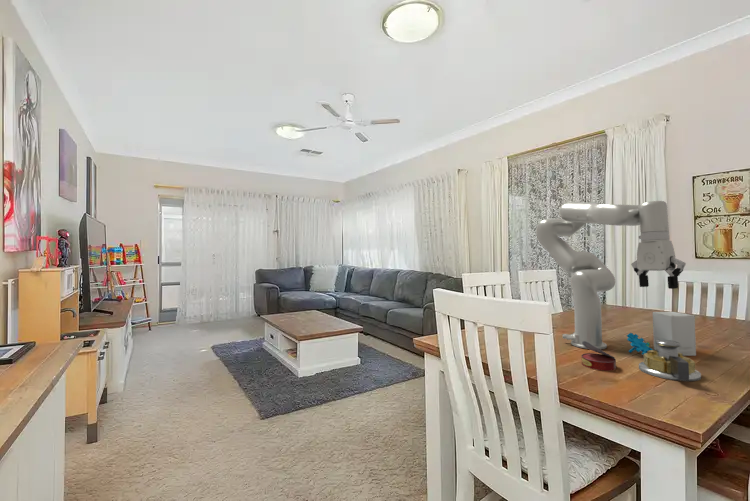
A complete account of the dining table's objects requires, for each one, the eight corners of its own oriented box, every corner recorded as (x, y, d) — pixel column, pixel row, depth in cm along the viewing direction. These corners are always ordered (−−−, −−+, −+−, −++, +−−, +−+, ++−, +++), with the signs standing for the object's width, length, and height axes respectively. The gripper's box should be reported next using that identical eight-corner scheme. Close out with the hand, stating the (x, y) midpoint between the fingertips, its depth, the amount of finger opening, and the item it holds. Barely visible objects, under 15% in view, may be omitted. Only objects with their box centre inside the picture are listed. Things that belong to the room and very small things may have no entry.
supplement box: (697, 356, 124) (696, 315, 124) (672, 356, 124) (671, 315, 124) (675, 349, 133) (674, 311, 133) (652, 349, 133) (651, 311, 133)
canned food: (583, 374, 120) (579, 346, 125) (617, 376, 115) (612, 347, 120) (581, 368, 112) (577, 338, 116) (618, 369, 107) (612, 338, 111)
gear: (644, 355, 121) (624, 331, 128) (630, 363, 124) (612, 340, 131) (662, 355, 125) (642, 332, 132) (648, 363, 129) (630, 340, 136)
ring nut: (640, 359, 116) (639, 345, 116) (684, 363, 111) (683, 348, 111) (658, 377, 100) (657, 360, 100) (710, 382, 95) (710, 364, 95)
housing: (647, 377, 104) (646, 345, 104) (633, 362, 118) (632, 334, 118) (711, 384, 98) (710, 350, 98) (688, 367, 112) (687, 338, 112)
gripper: (622, 239, 123) (625, 286, 122) (672, 235, 106) (676, 289, 105) (639, 239, 124) (642, 285, 124) (691, 235, 107) (695, 288, 107)
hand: (658, 287), depth 114 cm, fingers open, 9 cm apart
